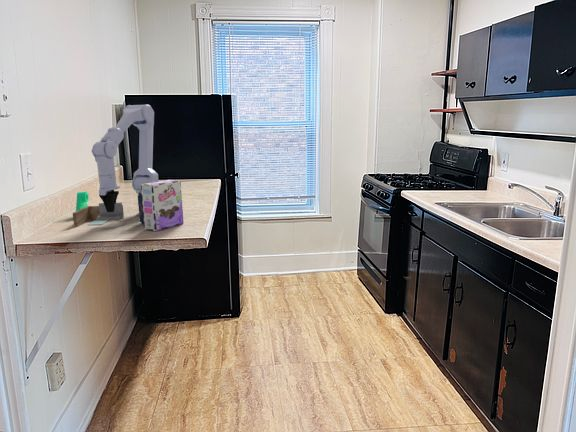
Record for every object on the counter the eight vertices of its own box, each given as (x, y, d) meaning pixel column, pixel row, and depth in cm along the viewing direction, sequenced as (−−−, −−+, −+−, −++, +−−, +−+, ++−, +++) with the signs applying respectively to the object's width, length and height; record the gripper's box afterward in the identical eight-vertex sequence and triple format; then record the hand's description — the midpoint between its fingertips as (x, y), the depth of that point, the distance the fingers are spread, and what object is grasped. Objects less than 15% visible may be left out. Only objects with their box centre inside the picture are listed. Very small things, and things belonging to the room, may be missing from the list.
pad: (102, 224, 168) (102, 224, 167) (87, 225, 167) (87, 224, 167) (109, 219, 176) (109, 219, 176) (95, 220, 176) (95, 219, 176)
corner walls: (124, 217, 179) (122, 204, 178) (112, 225, 166) (111, 211, 165) (88, 218, 179) (86, 206, 177) (74, 227, 165) (72, 213, 164)
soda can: (139, 222, 170) (136, 191, 168) (157, 220, 173) (155, 189, 170) (141, 226, 164) (138, 193, 161) (160, 224, 167) (157, 192, 164)
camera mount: (96, 218, 180) (93, 193, 178) (76, 219, 179) (73, 194, 177) (103, 212, 192) (101, 189, 189) (85, 213, 191) (82, 189, 188)
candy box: (155, 231, 155) (151, 184, 151) (144, 230, 158) (139, 183, 154) (184, 223, 166) (181, 179, 163) (173, 222, 169) (169, 179, 166)
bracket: (123, 215, 167) (121, 202, 166) (119, 218, 162) (117, 205, 161) (101, 216, 166) (99, 203, 165) (96, 219, 162) (95, 205, 161)
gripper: (111, 177, 156) (116, 215, 159) (124, 172, 170) (127, 207, 173) (91, 177, 155) (95, 215, 158) (105, 172, 170) (109, 207, 173)
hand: (111, 211), depth 166 cm, fingers closed on bracket
